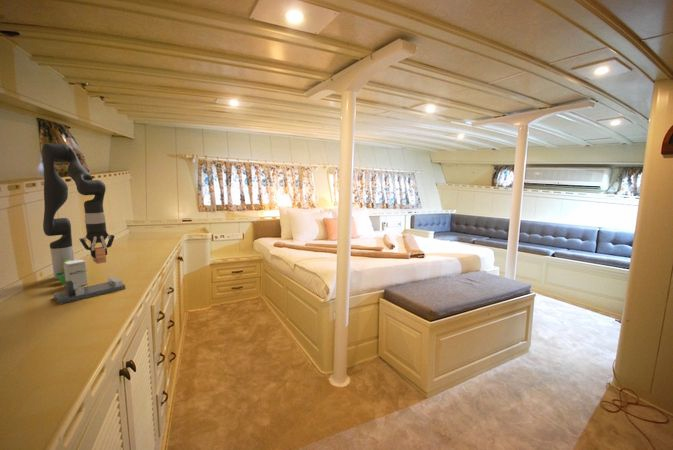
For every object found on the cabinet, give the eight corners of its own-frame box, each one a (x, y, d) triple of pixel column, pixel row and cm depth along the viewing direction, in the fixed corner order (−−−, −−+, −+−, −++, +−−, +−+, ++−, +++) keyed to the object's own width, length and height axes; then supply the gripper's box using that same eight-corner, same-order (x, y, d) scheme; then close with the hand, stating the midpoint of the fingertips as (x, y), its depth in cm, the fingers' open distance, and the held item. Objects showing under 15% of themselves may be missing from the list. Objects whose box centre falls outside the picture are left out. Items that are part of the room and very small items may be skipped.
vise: (53, 297, 140) (52, 288, 140) (117, 283, 159) (116, 275, 159) (59, 304, 133) (57, 294, 132) (125, 288, 152) (124, 280, 151)
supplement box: (69, 288, 152) (66, 264, 150) (66, 285, 157) (62, 261, 155) (88, 284, 158) (85, 261, 156) (84, 281, 163) (81, 258, 161)
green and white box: (61, 285, 157) (58, 264, 156) (55, 282, 162) (52, 261, 160) (88, 279, 167) (86, 259, 165) (81, 276, 171) (79, 257, 170)
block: (106, 262, 147) (104, 248, 146) (97, 263, 144) (95, 249, 143) (101, 259, 152) (100, 245, 151) (93, 260, 149) (91, 247, 148)
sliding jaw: (64, 290, 143) (63, 280, 142) (78, 288, 147) (76, 277, 146) (70, 297, 136) (68, 285, 135) (84, 293, 139) (83, 282, 139)
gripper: (78, 224, 137) (83, 261, 140) (115, 221, 148) (119, 255, 151) (74, 223, 142) (79, 258, 144) (110, 219, 153) (114, 253, 155)
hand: (99, 256), depth 147 cm, fingers closed on block, 3 cm apart
